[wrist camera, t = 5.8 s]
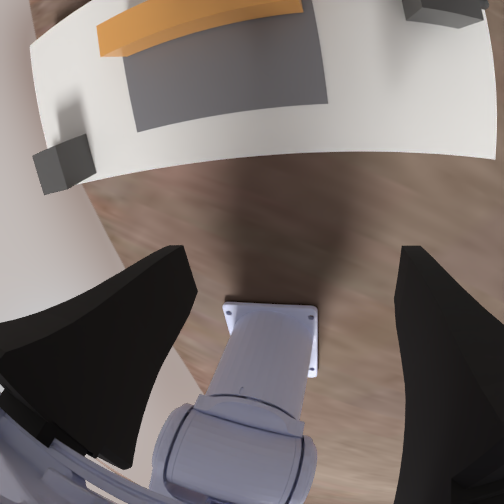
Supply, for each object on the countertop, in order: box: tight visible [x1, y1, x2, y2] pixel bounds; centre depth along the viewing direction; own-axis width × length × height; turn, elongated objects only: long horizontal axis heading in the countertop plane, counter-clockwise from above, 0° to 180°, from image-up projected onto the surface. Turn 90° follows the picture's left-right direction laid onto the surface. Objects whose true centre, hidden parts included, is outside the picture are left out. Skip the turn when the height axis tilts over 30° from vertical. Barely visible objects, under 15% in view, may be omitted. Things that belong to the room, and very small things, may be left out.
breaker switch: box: [96, 0, 303, 57], centre depth 10 cm, size 2×10×2 cm, turn 99°
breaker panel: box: [30, 0, 497, 185], centre depth 14 cm, size 13×30×3 cm, turn 99°
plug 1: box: [33, 134, 97, 195], centre depth 17 cm, size 4×3×3 cm
